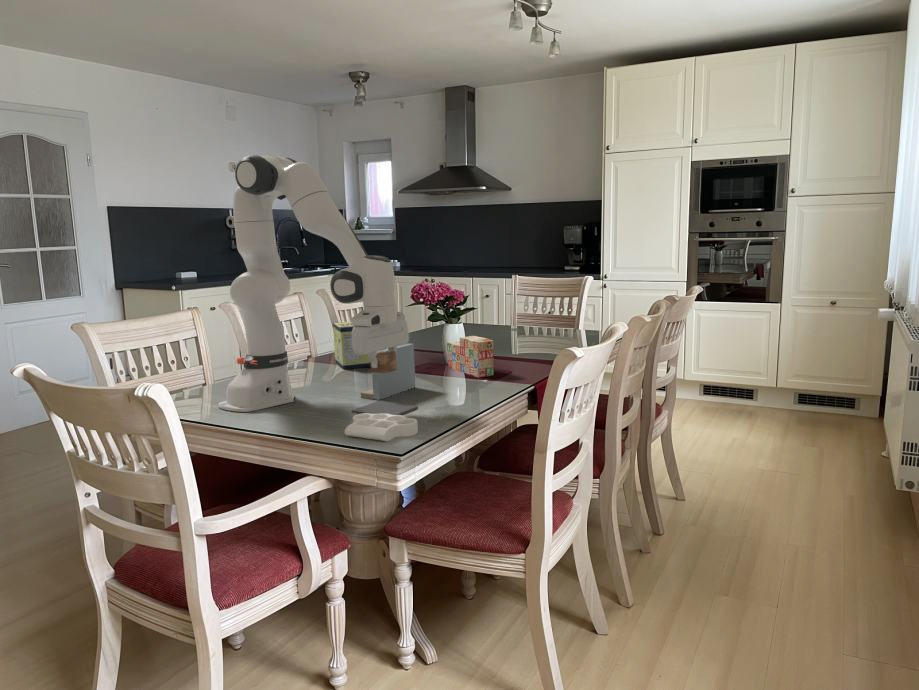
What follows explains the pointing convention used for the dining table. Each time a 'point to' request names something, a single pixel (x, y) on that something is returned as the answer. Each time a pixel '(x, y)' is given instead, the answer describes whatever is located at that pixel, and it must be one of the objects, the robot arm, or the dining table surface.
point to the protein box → (347, 348)
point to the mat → (385, 408)
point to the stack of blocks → (472, 356)
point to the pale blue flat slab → (394, 375)
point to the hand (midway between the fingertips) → (383, 365)
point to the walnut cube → (385, 362)
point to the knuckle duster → (381, 426)
